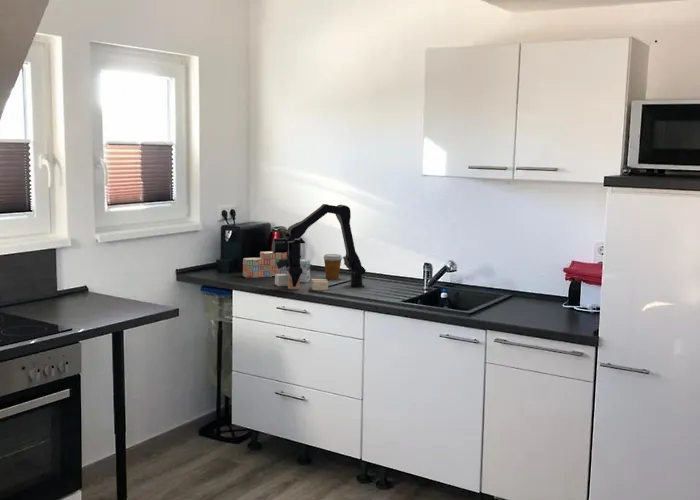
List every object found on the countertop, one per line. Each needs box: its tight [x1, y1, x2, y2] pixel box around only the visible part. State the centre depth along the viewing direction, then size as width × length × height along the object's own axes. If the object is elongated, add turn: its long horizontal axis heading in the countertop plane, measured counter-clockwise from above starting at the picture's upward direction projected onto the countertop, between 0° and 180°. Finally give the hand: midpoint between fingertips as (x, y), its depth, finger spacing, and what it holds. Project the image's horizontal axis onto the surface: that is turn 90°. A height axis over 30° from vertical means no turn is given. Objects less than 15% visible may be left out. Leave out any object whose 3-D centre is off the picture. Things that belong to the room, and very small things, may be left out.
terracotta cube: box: [287, 277, 301, 290], centre depth 359 cm, size 5×5×5 cm
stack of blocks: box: [242, 251, 288, 279], centre depth 390 cm, size 21×6×12 cm, turn 116°
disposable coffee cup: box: [323, 253, 343, 281], centre depth 388 cm, size 10×10×12 cm
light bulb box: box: [286, 258, 311, 283], centre depth 378 cm, size 11×7×11 cm, turn 80°
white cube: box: [274, 274, 289, 287], centre depth 366 cm, size 5×5×5 cm
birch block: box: [310, 278, 329, 291], centre depth 359 cm, size 7×7×4 cm
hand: (293, 285), depth 360 cm, fingers closed on terracotta cube, 5 cm apart
